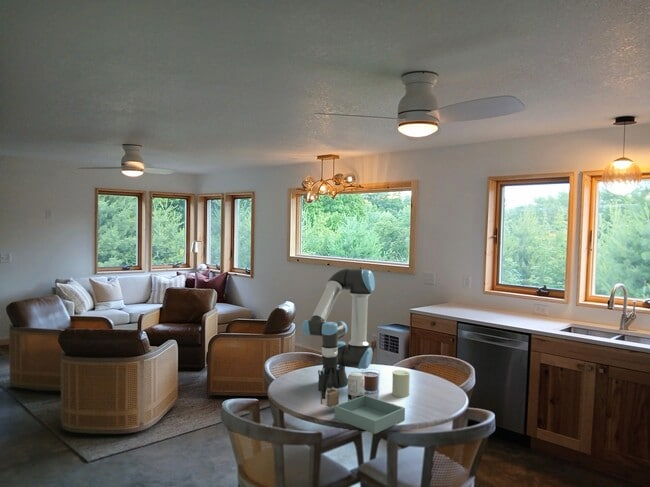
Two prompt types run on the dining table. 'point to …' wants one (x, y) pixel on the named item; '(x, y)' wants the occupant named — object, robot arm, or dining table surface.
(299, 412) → the dining table surface
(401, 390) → the can
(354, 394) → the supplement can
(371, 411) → the tote
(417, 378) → the dining table surface
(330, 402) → the walnut cube
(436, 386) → the dining table surface
